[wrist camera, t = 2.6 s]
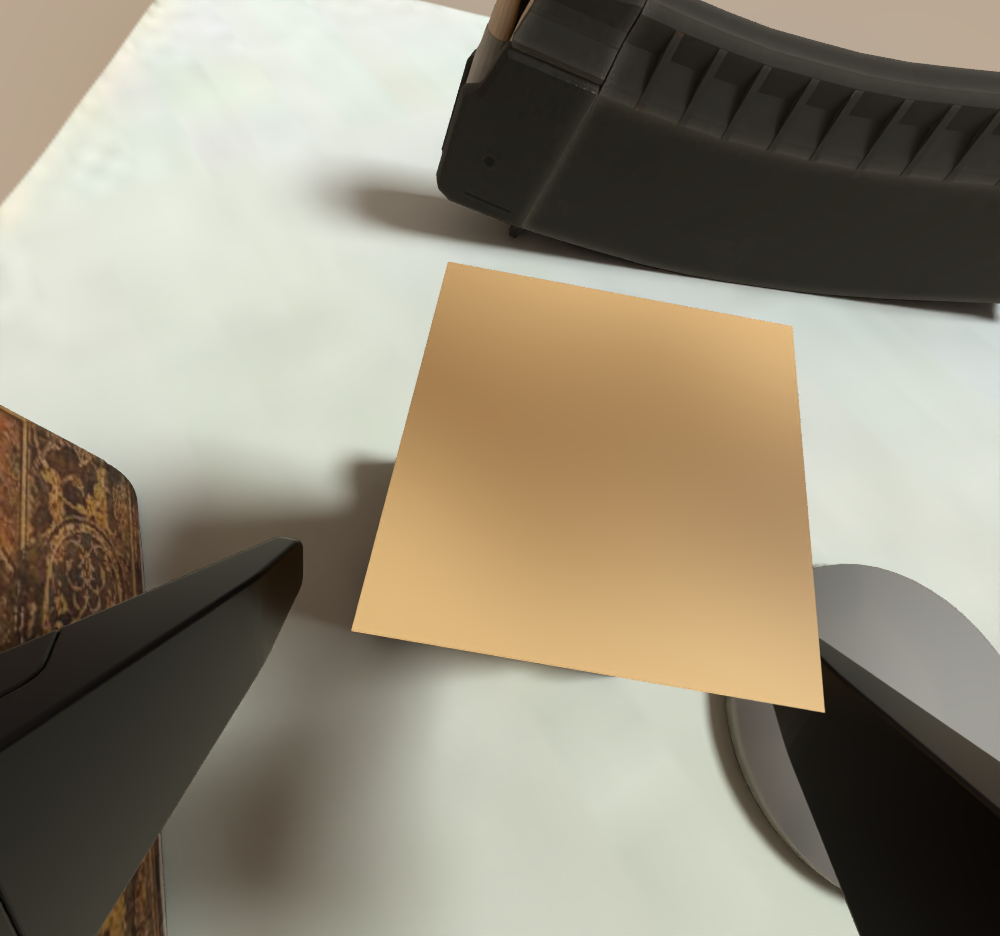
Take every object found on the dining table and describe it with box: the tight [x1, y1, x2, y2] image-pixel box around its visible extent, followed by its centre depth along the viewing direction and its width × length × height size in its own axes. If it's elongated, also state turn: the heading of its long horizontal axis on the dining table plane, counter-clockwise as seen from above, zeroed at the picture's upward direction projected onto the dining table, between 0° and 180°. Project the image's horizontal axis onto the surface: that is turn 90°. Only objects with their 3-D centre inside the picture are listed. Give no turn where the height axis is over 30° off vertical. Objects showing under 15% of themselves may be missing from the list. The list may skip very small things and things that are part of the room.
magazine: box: [436, 0, 1000, 303], centre depth 20 cm, size 17×3×30 cm
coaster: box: [726, 564, 1000, 889], centre depth 17 cm, size 11×11×1 cm
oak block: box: [351, 262, 825, 713], centre depth 12 cm, size 5×5×13 cm
